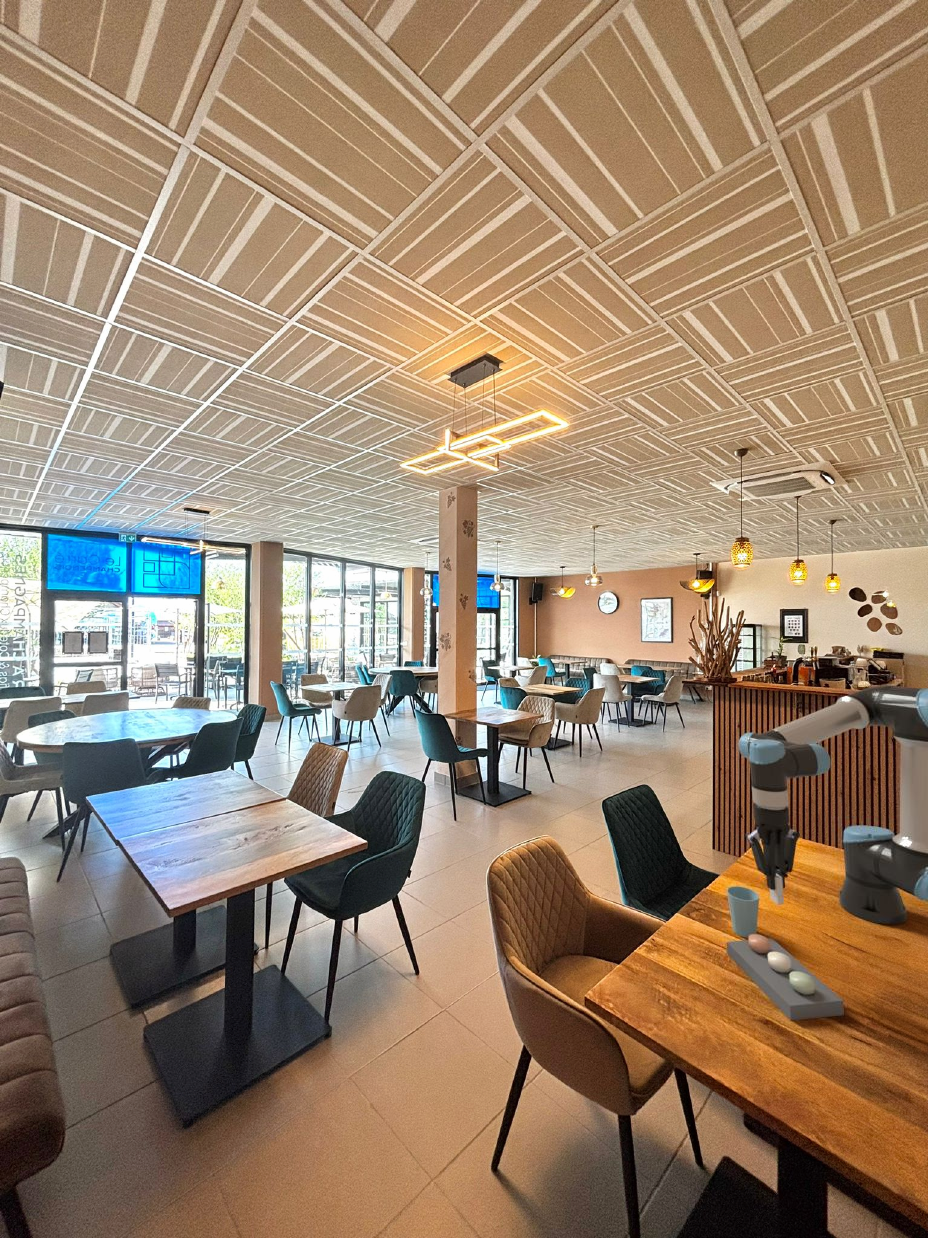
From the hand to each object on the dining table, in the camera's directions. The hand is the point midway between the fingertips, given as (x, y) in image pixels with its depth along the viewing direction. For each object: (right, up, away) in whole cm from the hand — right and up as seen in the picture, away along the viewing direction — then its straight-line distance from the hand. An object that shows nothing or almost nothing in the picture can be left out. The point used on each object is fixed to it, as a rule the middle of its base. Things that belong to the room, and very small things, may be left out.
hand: (777, 901), depth 123 cm
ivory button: (-3, -13, -6) cm, 15 cm away
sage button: (-3, -13, -13) cm, 19 cm away
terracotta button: (-4, -14, +1) cm, 14 cm away
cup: (-1, -16, +13) cm, 20 cm away
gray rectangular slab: (-3, -15, -6) cm, 17 cm away
